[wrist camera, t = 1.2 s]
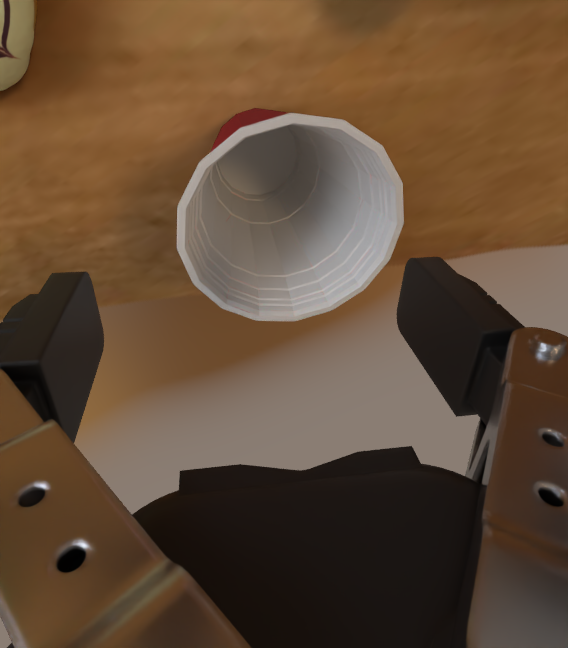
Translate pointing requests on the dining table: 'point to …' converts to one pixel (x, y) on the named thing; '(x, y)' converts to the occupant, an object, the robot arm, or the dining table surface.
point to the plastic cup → (289, 215)
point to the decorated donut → (15, 39)
